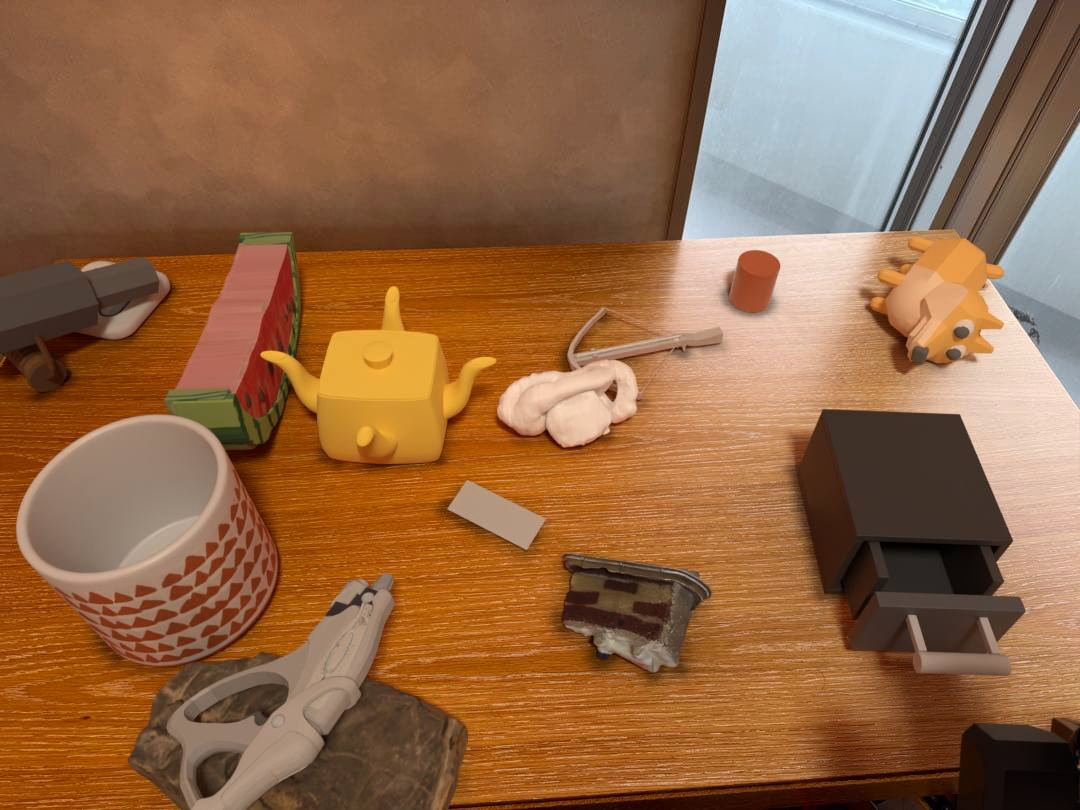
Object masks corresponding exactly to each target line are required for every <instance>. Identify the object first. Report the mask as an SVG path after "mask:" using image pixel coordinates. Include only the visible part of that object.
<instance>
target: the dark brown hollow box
mask: <svg viewBox="0 0 1080 810" xmlns="http://www.w3.org/2000/svg"><path fill="white" fill-rule="evenodd" d="M796 474H797V479H798V483H799V487H800V492H801V495H802V500H803V505H804V509H805V514H806V518H807V521H808V527H809V530H810V536H811V539H812V544H813V549H814V552H815V556H816V561H817V565H818V571H819V574H820V579H821V582H822V588H823V593H824V594H825V595H846V593H845V589H844V585H843V581H842V578H843V576H844V574H845V572H846V571H847V569H848V567H849V565H850V564H851V562H852V560H853V558H854V557H855V555H856V553H857V551H858V550H859V548H860V546H861V544H862V543H863V541H883V542H911V543H938V544H965V545H990V547H991V549H992V552H993V554H994V557H995V560H996V562H997V563H998V562H999V560H1000V559H1001V558H1002V556H1003V555H1004V554H1005V553H1006V551H1007V549H1008V548H1009V547H1010V546H1011V545H1012V544H1013V542H1014V539H1013V537H1012V534H1011V532H1010V529H1009V527H1008V524H1007V523H1006V519H1005V518H1004V516H1003V513H1002V511H1001V508H1000V506H999V504H998V501H997V499H996V497H995V494H994V492H993V489H992V487H991V484H990V482H989V480H988V477H987V475H986V472H985V470H984V468H983V465H982V463H981V460H980V458H979V456H978V453H977V451H976V449H975V446H974V444H973V441H972V440H971V437H970V434H969V433H968V429H967V428H966V426H965V423H964V420H963V418H962V416H961V414H960V413H939V412H938V413H937V412H914V411H913V412H912V411H889V410H888V411H885V410H863V409H862V410H860V409H859V410H857V409H856V410H855V409H834V408H833V409H830V408H823V409H821V412H820V415H819V417H818V420H817V422H816V424H815V426H814V429H813V431H812V434H811V436H810V438H809V441H808V443H807V446H806V448H805V450H804V452H803V455H802V458H801V459H800V463H799V464H798V467H797V470H796Z"/></svg>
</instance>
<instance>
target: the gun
mask: <svg viewBox="0 0 1080 810" xmlns="http://www.w3.org/2000/svg"><path fill="white" fill-rule="evenodd" d="M394 581H395V579H394V577H393V575H392V574H390V573H388V572H384V573H382V574H381V575H380V576H379V577H377V578H376V579H375V580H374V581H373V583H372V584H371V587H370V584H369V582H368V581H367V580H365V579H364V578H357V580H356V579H349V580H348V581H347V582H346V583H345V585H344V586H343V587H342V589H341V590H340V591H339V592H338V593H337V595H336V596H335V597H334V599H333V601H331V603H330V605H329V610H327V612H326V613H325V616H323V617H322V619H320V620H319V622H318V623H317V624H316V626H315V627H314V628H313V629H312V630H311V632H310V633H309V634H308V635H307V637H306V642H304V643H303V644H302V645H300V646H299V647H298V648H296V649H295V650H292V651H291V652H289V653H288V654H285V655H283V656H280V657H279V658H278V659H276V660H274V661H272V662H268V663H265V664H261V665H258V666H255V667H252V668H249V669H246V670H243V671H240V672H238V673H235V674H233V675H230V676H228V677H226V678H224V679H222V680H220V681H218V682H216V683H214V684H212V685H210V686H209V687H207V688H205V689H203V690H202V691H200V692H199V693H197V694H196V695H195V696H193V697H192V698H190V699H189V700H187V701H186V702H185V703H184V704H183V705H182V706H180V707H179V708H178V709H177V710H176V711H175V712H174V713H173V714H172V715H171V717H170V718H169V720H168V723H167V727H166V728H167V731H168V732H169V734H170V735H171V736H172V737H173V738H174V739H175V740H177V741H178V742H179V743H181V745H182V747H183V757H182V762H181V769H180V788H181V790H182V792H183V794H184V797H185V799H186V801H187V804H188V806H189V808H190V810H246V809H247V808H248V807H249V806H250V805H251V804H252V803H254V802H255V801H256V800H257V799H258V798H259V797H261V796H262V795H263V794H264V793H265V792H267V791H268V790H269V789H270V788H272V787H273V786H275V785H276V784H278V783H279V782H281V781H282V780H284V779H286V778H287V777H289V776H291V775H293V774H295V773H297V772H299V771H301V770H302V769H304V768H305V767H307V766H308V765H309V764H311V763H312V762H313V761H314V759H315V758H316V757H317V755H318V753H319V752H320V750H321V749H322V747H323V746H324V744H325V743H324V741H323V739H322V737H321V735H327V734H329V732H330V731H331V729H332V728H333V726H334V725H335V723H336V722H337V720H338V719H339V718H340V716H341V715H342V713H343V712H344V710H347V709H349V708H351V707H352V706H354V705H355V704H356V702H357V701H358V700H359V698H360V696H361V692H360V690H359V687H360V686H361V684H362V682H363V680H364V679H365V677H367V675H368V674H369V672H370V670H371V667H372V666H373V663H374V660H375V659H376V655H377V653H378V649H379V646H380V642H381V638H382V635H383V631H384V628H385V625H386V622H387V621H388V618H389V617H390V615H391V613H392V612H393V610H394V608H395V606H396V603H395V599H394V597H393V595H392V593H391V592H390V591H391V589H392V586H393V584H394ZM270 683H273V684H281V685H285V686H286V687H288V688H289V692H288V697H287V700H286V702H285V704H283V705H282V706H281V707H280V708H278V709H277V710H276V711H275V712H273V713H272V714H271V716H270V717H269V718H266V717H264V716H263V714H262V713H261V712H260V711H256V712H254V713H252V714H250V715H248V716H246V717H244V718H243V719H242V720H241V721H239V722H234V723H197V722H193V721H194V718H195V717H197V716H198V715H199V714H200V713H201V712H202V711H204V710H205V709H207V708H209V707H210V706H212V705H213V704H215V703H216V702H218V701H220V700H222V699H224V698H226V697H228V696H230V695H232V694H234V693H237V692H239V691H242V690H245V689H248V688H251V687H254V686H257V685H263V684H270ZM221 752H237V753H242V754H243V755H242V757H241V759H240V761H239V764H238V766H237V768H236V770H235V772H234V774H233V775H232V777H231V778H230V780H229V781H228V782H227V783H226V784H225V785H224V787H223V788H222V789H221V790H220V791H218V792H217V793H216V794H215V795H213V796H211V797H208V798H203V796H202V794H201V792H200V790H199V789H198V787H197V785H196V770H197V769H198V767H199V765H200V764H201V763H202V762H203V761H204V760H205V759H207V758H208V757H210V756H211V755H214V754H217V753H221Z"/></svg>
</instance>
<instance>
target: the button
mask: <svg viewBox="0 0 1080 810" xmlns="http://www.w3.org/2000/svg"><path fill="white" fill-rule="evenodd" d="M116 263H117V262H112V261H107V260H97V261H92V262H90V263H88V264H85V265H84V266H82V267H81V268H80V270H81V271H82V272H85V271H88V270H92V269H96V268H100V267H104V266H108V265H112V264H116ZM155 271H156V273H157V276H158V278H159V290H158V293H155V294H152V295H149V296H145V297H142V298H138V299H135V300H131V301H128V302H125V303H121V304H118V305H114V306H111V307H107V308H104V309H101V310H98V325H95V326H92V327H88V328H85V329H82V330H78V331H75V332H74V333H76V334H83V335H87V336H92V337H97V338H102V339H106V340H111V341H116V340H117V341H118V340H122V339H125V338H128V337H129V336H132V335H133V334H134V333H136V331H137V330H138V329H139V328H140V327H141V325H142V324H143V323H144V322H145V321H146V320H147V318H148V317H149V316H150V315H151V314H152V313H153V312H154V310H155V309H156V308H157V306H158V305H160V303H161V302H162V301H163V300H164V298H165V297H166V296H167V295H168V294H169V293H170V290H171V282H170V279H169V277H168V276H167V275H166V274H165V273H164V272H161V271H158V270H155Z"/></svg>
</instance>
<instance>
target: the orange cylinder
mask: <svg viewBox="0 0 1080 810" xmlns="http://www.w3.org/2000/svg"><path fill="white" fill-rule="evenodd" d="M780 270H781V262H780V260H779V259H778V258H777V257H776V256H775V255H774V254H772V253H770V252H768V251H765V250H759V249H750V250H747V251H744V252H742V253H740V255H739V256H738V259H737V262H736V266H735V270H734V274H733V278H732V282H731V286H730V289H729V294H728V300H729V302H730V303H731V305H732V306H734V307H735V308H736V309H738V310H740V311H742V312H746V313H760V312H763V311H765V310H766V309H767V308H768V307H769V306H770V303H771V300H772V296H773V293H774V290H775V287H776V284H777V281H778V277H779V273H780Z"/></svg>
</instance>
